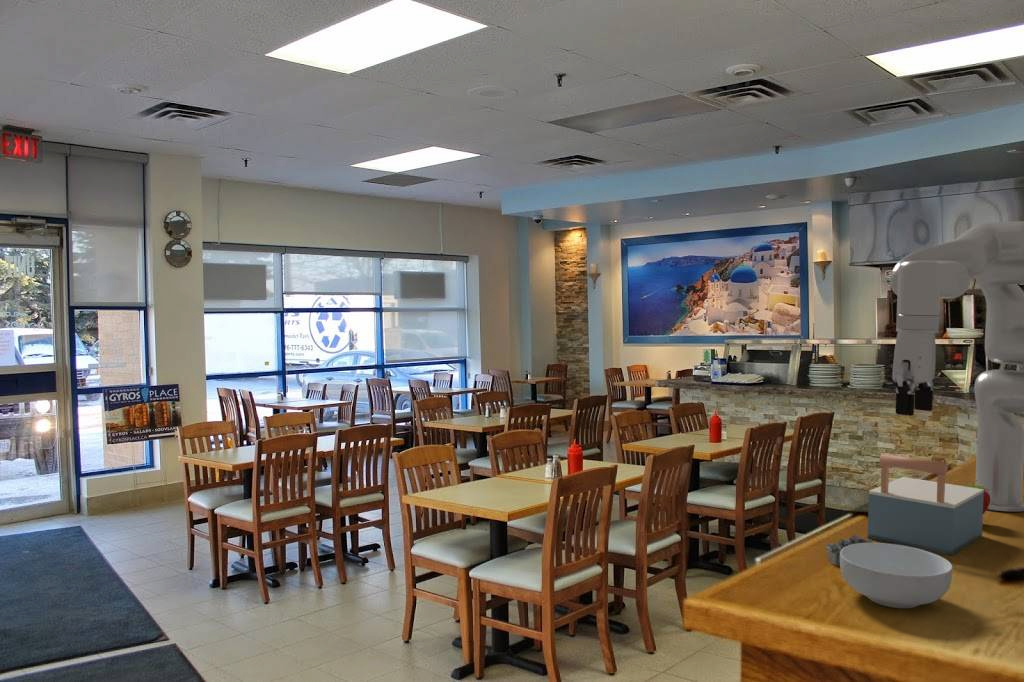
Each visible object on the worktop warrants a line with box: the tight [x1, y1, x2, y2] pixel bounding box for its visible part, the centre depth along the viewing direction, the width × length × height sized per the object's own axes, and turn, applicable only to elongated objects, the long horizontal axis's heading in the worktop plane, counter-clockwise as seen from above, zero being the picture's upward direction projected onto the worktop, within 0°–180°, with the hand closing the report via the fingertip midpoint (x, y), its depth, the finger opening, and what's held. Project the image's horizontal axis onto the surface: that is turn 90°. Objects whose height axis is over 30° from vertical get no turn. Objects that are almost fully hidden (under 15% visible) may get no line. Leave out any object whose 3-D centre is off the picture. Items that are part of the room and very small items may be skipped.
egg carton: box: [825, 534, 879, 566], centre depth 160 cm, size 11×8×4 cm
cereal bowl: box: [839, 542, 954, 609], centre depth 140 cm, size 17×17×7 cm
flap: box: [868, 453, 984, 509], centre depth 174 cm, size 18×16×8 cm
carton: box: [867, 492, 984, 556], centre depth 175 cm, size 18×16×9 cm
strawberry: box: [961, 479, 990, 515], centre depth 184 cm, size 6×8×10 cm
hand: (914, 412), depth 167 cm, fingers open, 9 cm apart
